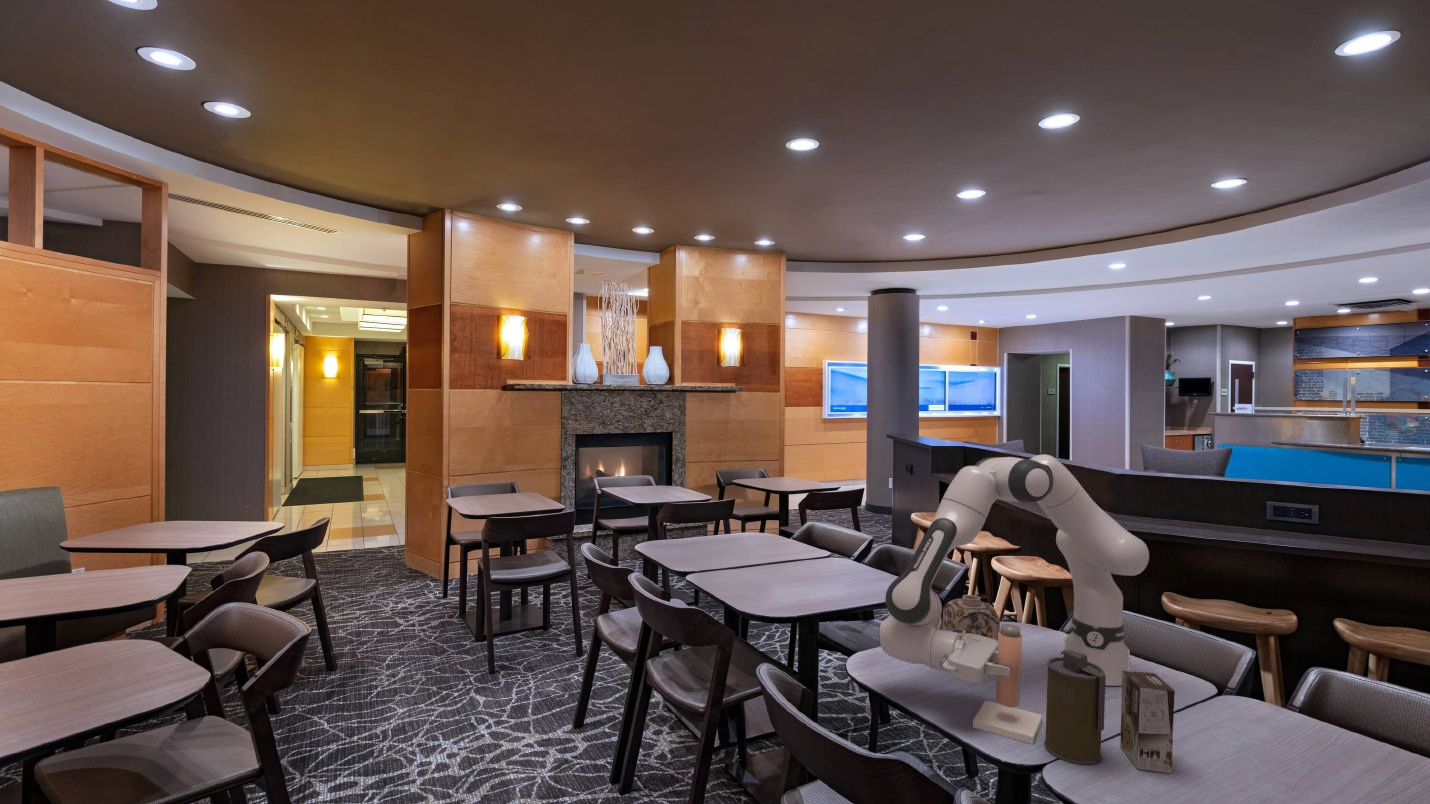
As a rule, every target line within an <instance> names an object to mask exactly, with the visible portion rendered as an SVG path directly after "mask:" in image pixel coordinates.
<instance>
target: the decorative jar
mask: <svg viewBox="0 0 1430 804" xmlns="http://www.w3.org/2000/svg"><path fill="white" fill-rule="evenodd" d="M955 629H963V630H965V631H966V634H967V633H972V634H977V635H981V636H984V637H988V638H992V639H994V640H996V641H998V632H999V631H1000V629H1001V621H1000V619H999V615H998V614H997V611H996V609H995V608H994V607H993V605H991V604H990V603H988V602H985V601H983V600H982V599H981V596H978V595H975V594H974V595H973V594H964V595H963V596H962V598H955V599H952V600H950V601H948V602H947V603H946V604H945V605H944V606H942V624H941V630H944V631H946V630H947V631H951V630H955ZM994 664H995V665H997V662H995V663H994Z"/></svg>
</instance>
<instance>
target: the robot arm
mask: <svg viewBox="0 0 1430 804" xmlns="http://www.w3.org/2000/svg"><path fill="white" fill-rule="evenodd" d="M997 500H999V501H1004V502H1013V503H1014V502H1016V503H1023V504H1033V503H1037V504H1038V506H1039V507H1040V508H1041V510H1042V511H1043V512H1044V514H1045V515H1046V516H1047V517H1048V518H1049V520H1050V522H1051V523H1052V524H1053V525H1054V526H1055V527H1056V528H1057V532H1056V535H1055V536H1056V537H1055V542H1056V546H1057V548H1058V549H1059V551H1060V553H1061V554H1062V555H1063V556H1064V559H1065V561H1066V563H1067V566H1068V568H1069V572H1070V575H1071V576H1070V577H1071V579H1072V584H1073V596H1074V597H1073V599H1074V600H1073V615H1072V618H1071V623H1070V625H1071V628H1070V630H1071V633H1069V634H1068V635H1066V636H1065V637H1064V643H1063V645H1064V646H1063V651H1065V650H1072V651H1075V652H1077V653H1082V654H1085V655H1087V661H1088V662H1090V663H1093V664H1096V665H1097V666H1099V667H1101V668H1102V669H1103V670H1104V673H1105V676H1106V681H1105V686H1108V687H1109V686H1111V687H1112V686H1113V687H1114V686H1117V687H1119V686H1122V671H1129V672H1135V671H1134V669H1133V667H1132V662H1131V661H1130V658H1131V657H1130V655H1131V653H1130V652H1131V651H1130V649H1129V647H1128V646H1127V644H1125V642H1124V639H1125V625H1124V624H1123V611H1124V610H1123V609H1124V596H1123V593H1122V591H1121V590H1120V587H1118V586H1117V584H1116V582H1115V581H1114V578H1113V576H1112V574H1113V575H1119V576H1129V577H1134V576H1137V575H1139V574H1141V573H1142V572H1143V571H1145V569H1147V566H1148V564H1149V562H1150V561H1149V560H1150V551H1149V549H1148V546H1147V544H1146V543H1145V541H1143V540H1142V539H1140V538H1138V537H1137V536H1136V535H1133V534H1132V533H1131V532H1129V531H1128V530H1126V529H1125V528H1124V527H1123V526H1122V525H1121V524H1119V523H1118V522H1117V521H1116V520H1115V519H1114V518H1113V517H1111V515H1109V514H1108V513H1107V512H1106V511H1104V510H1103V509H1102V508H1101V506H1100V507H1099V505H1098V504H1096V502H1095V501H1094V500H1093V499H1092V497H1091V496H1090V495H1089V493H1087V491H1086V490H1085V489H1084V487H1083V486H1082V485H1081V484H1080V483H1079V481H1078V480H1077V478H1076V476H1074V475H1073V473H1071V471H1069V469H1068V468H1067V467H1066V466H1065V465H1064V464H1062V463H1061V462H1060V461H1059V460H1058V459H1057V458H1056V457H1054V456H1052V455H1050V454H1045V453H1043V454H1038V455H1034V456H1032V457H1031V458H1021V457H1013V456H1006V457H1005V456H1003V457H996V456H990V457H985V458H982V459H981V460H979V461H977V462H976V463H975V464H974V465H967V466H966V465H965V466H964V467H962V468H961V469H960V470H958V472H957V474H956V475H955V476H954V477H953V479H952V480H951V481H950V484H949V485H948V487H947V489H946V490H945V492H944V495H943V497H942V499H941V501H940V503H939V505H938V508H937V510H936V512H935V514H934V517H933V520H932V521H931V523H930V525H929V528H928V529H927V531H926V532H925V534H924V536H923V537H922V539H921V541H920V543H919V545H918V547H917V548H916V550H915V552H914V554H913V556H912V557H911V560H910V561H909V563H908V565H907V567H906V568H905V569H904V571H903V572H902V573H901V574H900V575H899V576H898V577H896V579H894V581H892V583H891V584H889V586H888V588H887V590H886V591H885V592H886V593H885V597H884V598H885V606H886V609H887V610H888V613H889V615H888V616H887V617H886V618H885V619H884V620H883V621H881V623H880V625H879V628H878V642H879V644H880V648H881V649H882V651H883V652H884V653H885V654H886V655H887V656H889V657H892V658H893V659H896V660H899V661H902V662H906V663H910V664H912V665H925V666H927V667H929V669H934V670H938V671H942V672H945V673H947V674H948V675H950V676H952V677H955V678H957V679H959V680H964V681H966V682H969V683H973V684H980V683H982V682H983V680H984V679H985V677H986V676H987V675H991V676H997V675H1005V676H1009V675H1010V674H1011V667H1010V666H1007V665H995V664H994V663H995V662H997V655H998V641H996V640H994V639H992V638H988V637H984V636H981V635H977V634H972V633H967V634H966V631H965V630H963V629H955V630H951V631H947V630H946V631H944V630H942V629H939V628H938V626H939V622H940V620H941V616H942V614H943V605H942V601H941V599H940V597H939V596H938V594H937V593H936V592H934V591H933V589H932V586H933V583H934V580H935V578H936V576H937V574H938V572H939V570H940V569H941V566H942V565H943V563H944V561H945V559H946V557H947V556H948V554H949V553H950V552H951V551H952V550H954V549H956V548H958V547H960V546H961V547H962V546H966V545H968V544H971V543H972V542H973V541H975V539H976V537H977V536H978V535H979V533H980V532H981V530H982V528H983V527H984V524H985V522H986V519H987V518H988V515H989V513H990V511H991V508H992V506H993V504H994V503H995V502H996V501H997Z"/></svg>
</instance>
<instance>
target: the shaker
mask: <svg viewBox="0 0 1430 804" xmlns="http://www.w3.org/2000/svg"><path fill="white" fill-rule="evenodd" d="M1022 647H1023V635H1022V634H1021V627H1020V626H1018V625H1016V624H1010V623H1003V624H1002V623H1001V624H1000V631H999V632H998V655H997V665H1007V666H1010V667H1011V674H1010V675H1009V676H1005V675H996V679H995V680H996V681H995V682H996V684H995V685H996V686H995V703H997V704H1000V705H1003V706H1006V707H1013V708H1018V707H1019V706H1020V698H1021V678H1022V677H1021V673H1022V653H1023V651H1022V649H1023V648H1022Z"/></svg>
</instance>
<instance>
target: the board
mask: <svg viewBox="0 0 1430 804" xmlns="http://www.w3.org/2000/svg"><path fill="white" fill-rule="evenodd" d="M1042 723H1043V714H1039V713H1035V712H1033V711H1029V710H1023V709H1020V708H1018V707H1006V706H1003V705H1000V704H999V703H997V702H993V701H990V700H984V702H983V704H982V705H981V707H980V709H979V710H978V712H977V713H976V714H975V717H974V718H973V720H972V728H974V729H977V730H981V731H985V732H988V733H992V734H995V735H999V736H1003V737H1006V738H1009V739H1014V740H1017V741H1020V742H1023V743H1027V744H1031V745H1034V742H1035V740H1036V738H1037V736H1038V733H1039V731H1040V727H1041V726H1042Z"/></svg>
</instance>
